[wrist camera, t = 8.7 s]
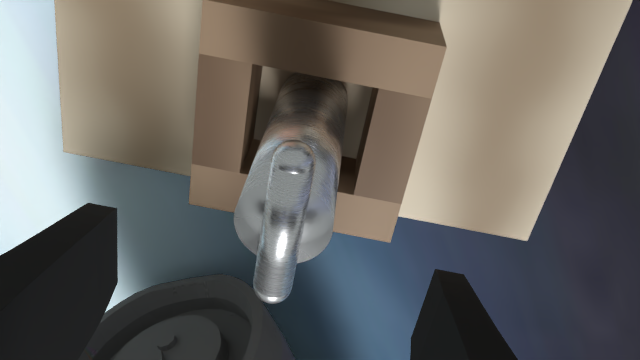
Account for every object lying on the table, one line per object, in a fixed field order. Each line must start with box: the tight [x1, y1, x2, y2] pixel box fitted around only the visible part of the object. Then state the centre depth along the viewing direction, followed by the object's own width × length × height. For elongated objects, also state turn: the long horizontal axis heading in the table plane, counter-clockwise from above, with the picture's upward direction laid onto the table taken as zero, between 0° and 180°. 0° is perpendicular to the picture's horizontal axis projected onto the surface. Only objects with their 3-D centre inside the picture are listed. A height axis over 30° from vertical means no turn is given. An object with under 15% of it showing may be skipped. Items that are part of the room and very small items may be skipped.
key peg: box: [234, 72, 348, 304], centre depth 17 cm, size 2×5×8 cm, turn 171°
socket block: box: [189, 0, 447, 242], centre depth 20 cm, size 7×7×2 cm
